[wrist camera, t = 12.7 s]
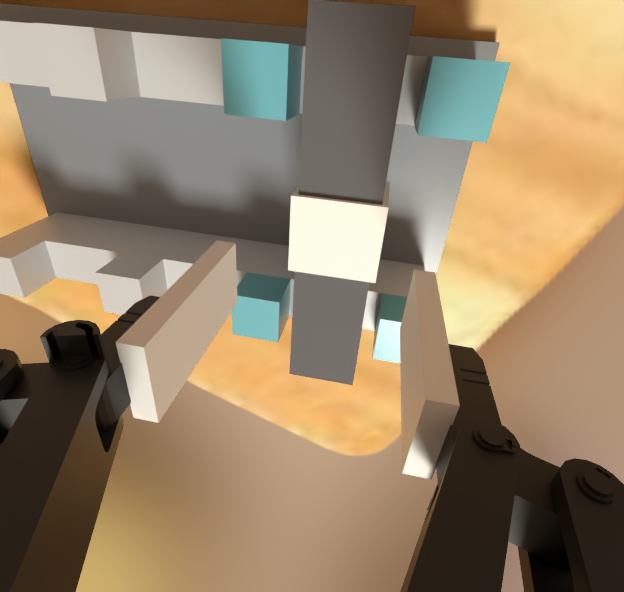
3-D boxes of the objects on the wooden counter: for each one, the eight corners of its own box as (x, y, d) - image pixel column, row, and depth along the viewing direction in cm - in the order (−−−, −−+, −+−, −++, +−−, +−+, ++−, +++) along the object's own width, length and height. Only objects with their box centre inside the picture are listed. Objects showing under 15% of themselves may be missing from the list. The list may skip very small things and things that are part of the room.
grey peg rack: (-1, 3, 26) (-163, -19, 19) (495, 43, 22) (546, 34, 15) (67, 249, 36) (-22, 300, 28) (425, 305, 32) (434, 382, 24)
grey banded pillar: (318, 11, 19) (298, -3, 15) (417, 17, 18) (424, 5, 14) (299, 333, 28) (283, 376, 25) (362, 343, 28) (356, 389, 24)
